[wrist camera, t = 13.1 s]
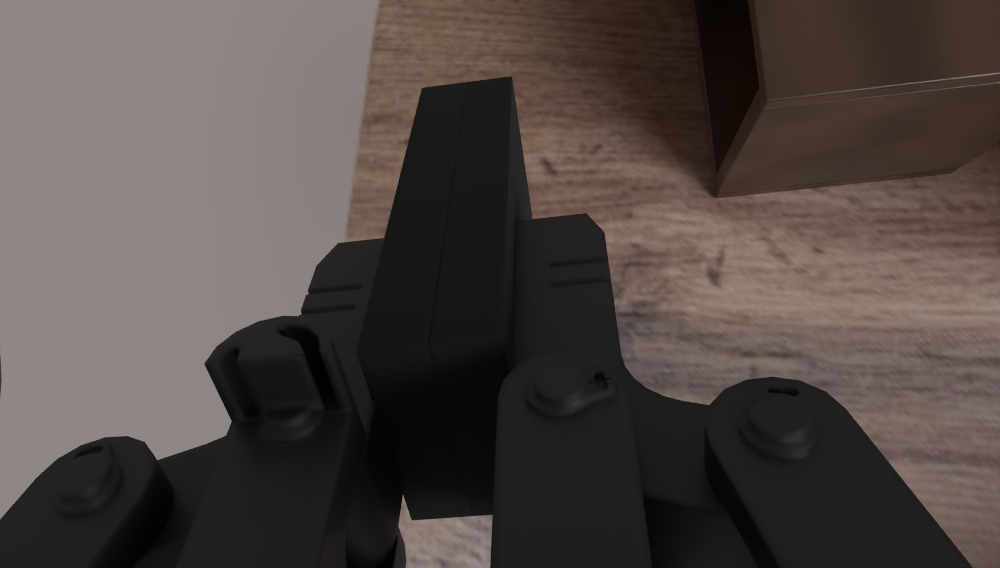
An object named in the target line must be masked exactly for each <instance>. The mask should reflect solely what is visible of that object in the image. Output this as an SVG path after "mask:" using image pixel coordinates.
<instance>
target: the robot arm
mask: <svg viewBox="0 0 1000 568" xmlns="http://www.w3.org/2000/svg"><path fill="white" fill-rule="evenodd" d="M308 292H309V295H306V297H305V301H304V303H303V306H302V309H301V312H302V315H299V316H281V317H276V318H272V319H268V320H263V321H259V322H256V323H254V324H252V325H250V326H248V327H246V328H243V329H241V330H239V331H237V332H235V333H234V334H233V335H231V336H230V337H229V338H227V339H226V340H225V341H224V342H222V343H221V344H220V345H218V346H217V347H216V348H215V350H214V351H213V352H212V354H211V355H210V357H209V358H208V359H207V361H206V362H205V366H206V368H207V370H208V372H209V374H210V377H211V379H212V381H213V383H214V385H215V387H216V389H217V391H218V393H219V395H220V397H221V400H222V401H223V404H224V406H225V408H226V410H227V412H228V414H229V416H230V418H231V420H232V423H231V425H230V428H229V430H228V433H227V435H226V436H224V437H222V438H220V439H217V440H215V441H212V442H210V443H208V444H205V445H202V446H199V447H196V448H193V449H190V450H187V451H184V452H181V453H178V454H175V455H172V456H169V457H166V458H163V459H160V460H156V458H155V456H154V455H153V453H152V452H151V451H150V449H149V448H148V446H147V445H146V444H145V442H143V441H140V440H137V439H134V438H131V437H128V436H123V437H106V438H102V439H100V440H96V441H93V442H90V443H87V444H84V445H81V446H79V447H77V448H76V449H74V450H72V451H71V452H69V453H67V454H66V455H64V456H62V457H60V458H58V459H57V460H56V461H55V462H54V463H53V464H51V465H50V466H49V467H48V468H47V469H46V470H45V471H44V472H42V473H41V474H40V475H39V476H38V477H37V478H36V479H35V480H34V482H33V483H32V484H31V485H30V486H29V487H28V488H27V489H26V491H25V492H24V493H23V494H22V495H21V496H20V498H19V499H18V500H17V501H16V502H15V503H14V504H13V506H12V507H11V508H10V509H9V510H8V511H7V512H6V514H5V515H4V516H3V517H2V518H1V519H0V568H405V567H406V554H405V544H404V541H403V538H402V536H401V533H400V530H399V527H398V523H399V517H400V510H401V503H402V497H403V495H404V498H405V501H406V504H407V507H408V510H409V513H410V516H411V519H412V520H423V519H437V518H451V517H465V516H479V515H493V520H492V543H491V566H490V568H973V567H972V566H971V565H970V563H969V562H968V561H967V560H966V558H965V557H964V556H963V555H962V553H961V552H960V551H959V550H958V548H957V547H956V546H955V545H954V543H953V542H952V541H951V540H950V538H949V537H948V536H947V535H946V533H945V532H944V531H943V530H942V528H941V527H940V526H939V525H938V523H937V522H936V521H935V520H934V518H933V517H932V516H931V515H930V513H929V512H928V511H927V510H926V508H925V507H924V506H923V505H922V503H921V502H920V501H919V500H918V498H917V497H916V496H915V495H914V493H913V492H912V491H911V490H910V488H909V487H908V486H907V485H906V483H905V482H904V481H903V480H902V478H901V477H900V476H899V475H898V473H897V472H896V471H895V470H894V469H893V467H892V466H891V465H890V464H889V462H888V461H887V460H886V459H885V457H884V456H883V455H882V454H881V452H880V451H879V450H878V449H877V447H876V446H875V445H874V444H873V442H872V441H871V440H870V439H869V437H868V436H867V435H866V434H865V432H864V431H863V430H862V429H861V427H860V426H859V425H858V424H857V422H856V421H855V420H854V419H853V417H852V416H851V415H850V414H849V412H848V411H847V410H846V409H845V408H844V407H843V406H842V405H841V404H840V403H838V402H837V401H836V400H835V399H834V398H833V397H832V396H830V395H829V394H828V393H827V392H825V391H823V390H821V389H818V388H816V387H814V386H811V385H809V384H807V383H804V382H802V381H798V380H791V379H784V378H778V377H767V378H759V379H750V380H745V381H743V382H741V383H738V384H736V385H734V386H731V387H729V388H727V389H725V390H724V391H723V392H722V393H721V394H720V395H719V396H718V397H717V398H716V399H715V400H714V401H713V402H712V403H711V404H710V405H704V404H698V403H692V402H685V401H681V400H677V399H673V398H669V397H665V396H662V395H660V394H658V393H656V392H654V391H651V390H649V389H647V388H646V387H644V386H643V385H642V384H641V383H639V382H638V381H637V380H635V379H634V378H633V376H632V375H631V374H630V372H629V371H628V370H627V368H626V367H625V365H624V362H623V359H622V356H621V350H620V343H619V336H618V329H617V321H616V314H615V307H614V299H613V292H612V285H611V278H610V270H609V263H608V255H607V248H606V241H605V233H604V232H603V231H602V229H601V228H600V227H599V226H598V225H597V224H596V223H595V222H594V221H593V220H592V219H591V218H590V217H589V216H588V215H587V214H586V213H585V214H576V215H567V216H558V217H549V218H540V219H532V212H531V205H530V198H529V191H528V184H527V178H526V171H525V164H524V157H523V150H522V143H521V136H520V129H519V122H518V115H517V108H516V101H515V95H514V88H513V81H512V76H511V77H503V78H496V79H488V80H480V81H472V82H465V83H457V84H449V85H441V86H434V87H426V88H422V90H421V94H420V98H419V102H418V106H417V110H416V114H415V118H414V122H413V126H412V130H411V134H410V138H409V142H408V146H407V150H406V154H405V158H404V162H403V166H402V170H401V174H400V178H399V182H398V186H397V190H396V194H395V198H394V202H393V206H392V210H391V214H390V218H389V222H388V226H387V230H386V234H385V238H381V239H371V240H362V241H353V242H344V243H338V244H337V245H336V246H335V247H334V248H333V249H332V250H331V251H330V252H329V253H328V254H327V255H326V257H325V258H324V259H323V260H322V261H321V262H320V263H319V264H318V265H317V266H316V269H315V272H314V275H313V278H312V280H311V283H310V286H309V289H308Z"/></svg>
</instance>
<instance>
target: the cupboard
mask: <svg viewBox="0 0 1000 568" xmlns="http://www.w3.org/2000/svg"><path fill="white" fill-rule="evenodd" d="M691 5H692V13H693V21H694V29H695V37H696V46H697V54H698V62H699V70H700V79H701V87H702V95H703V103H704V112H705V120H706V128H707V136H708V145H709V153H710V161H711V169H712V178H713V186H714V194H715V198H722V197H732V196H741V195H751V194H760V193H770V192H779V191H789V190H798V189H808V188H817V187H827V186H836V185H846V184H855V183H865V182H874V181H884V180H894V179H903V178H913V177H922V176H932V175H941V174H950V173H952V172H953V171H955V170H956V169H958V168H960V167H961V166H963V165H964V164H966V163H967V162H969V161H970V160H972V159H973V158H975V157H976V156H978V155H979V154H981V153H982V152H984V151H985V150H987V149H988V148H990V147H991V146H993V145H994V144H996V143H997V142H999V141H1000V0H691Z"/></svg>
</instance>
